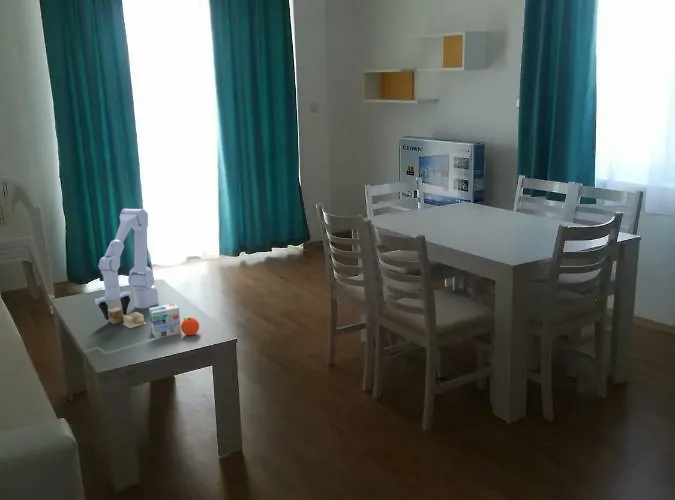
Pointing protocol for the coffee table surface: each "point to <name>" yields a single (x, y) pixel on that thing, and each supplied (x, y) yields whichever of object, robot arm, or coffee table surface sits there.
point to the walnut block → (115, 315)
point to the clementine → (190, 326)
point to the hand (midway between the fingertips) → (115, 316)
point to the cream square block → (133, 319)
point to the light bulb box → (165, 320)
